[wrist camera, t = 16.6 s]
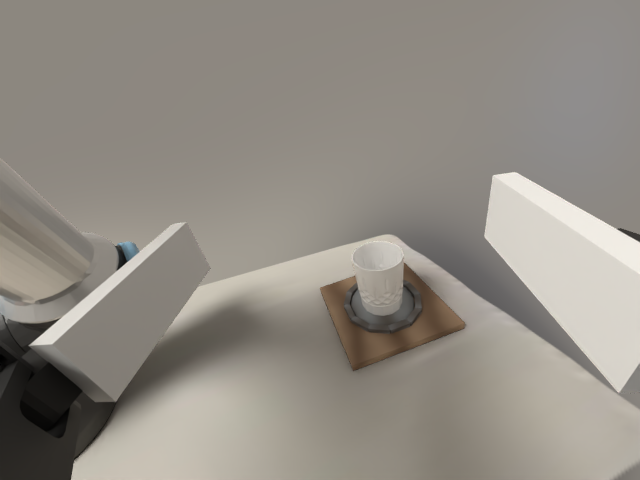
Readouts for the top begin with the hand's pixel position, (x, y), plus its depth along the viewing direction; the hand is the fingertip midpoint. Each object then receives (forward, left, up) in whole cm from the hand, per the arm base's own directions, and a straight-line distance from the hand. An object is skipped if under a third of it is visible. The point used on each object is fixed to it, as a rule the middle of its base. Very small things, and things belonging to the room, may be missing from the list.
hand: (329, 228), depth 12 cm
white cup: (-1, +24, -29) cm, 37 cm away
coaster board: (-1, +24, -30) cm, 38 cm away
